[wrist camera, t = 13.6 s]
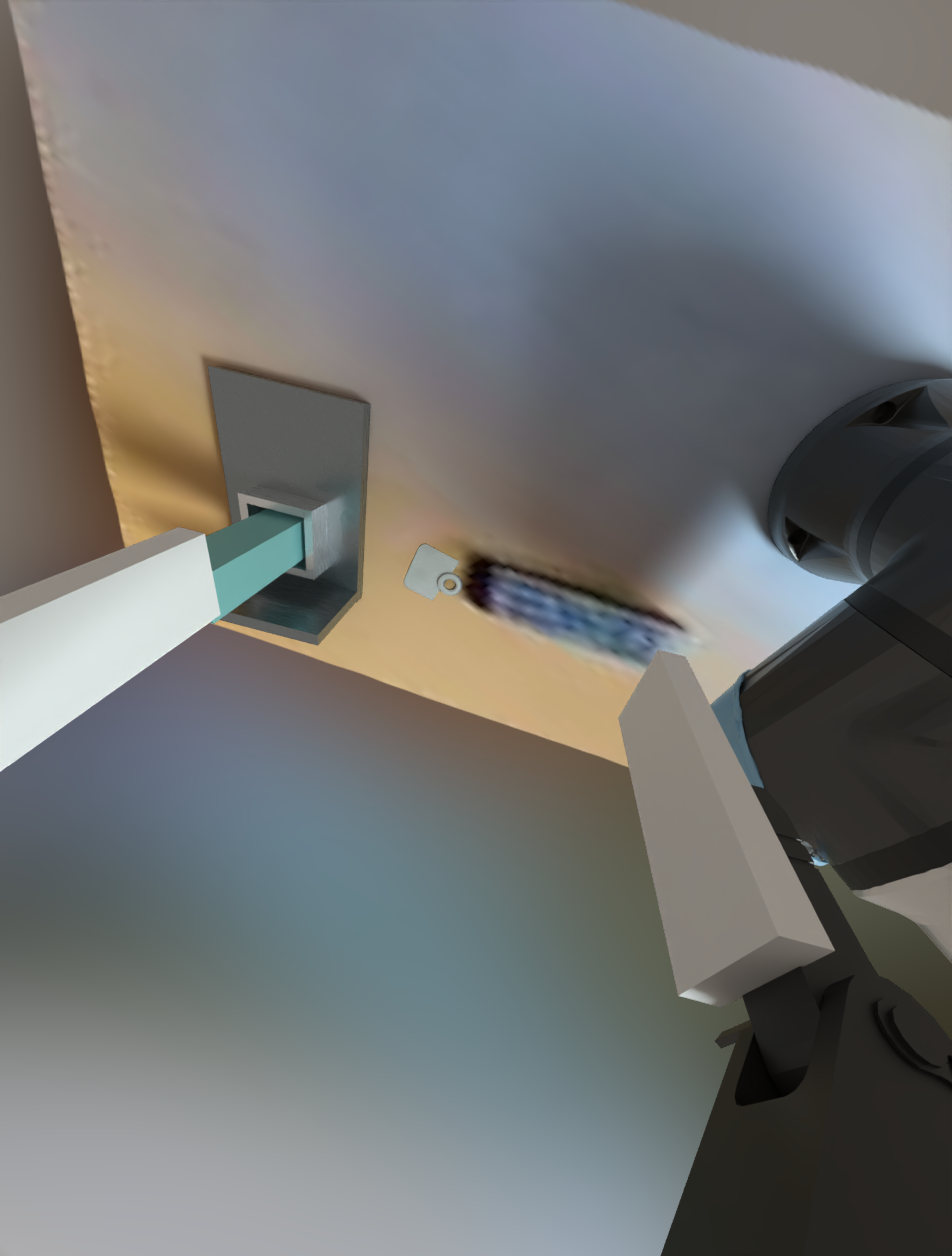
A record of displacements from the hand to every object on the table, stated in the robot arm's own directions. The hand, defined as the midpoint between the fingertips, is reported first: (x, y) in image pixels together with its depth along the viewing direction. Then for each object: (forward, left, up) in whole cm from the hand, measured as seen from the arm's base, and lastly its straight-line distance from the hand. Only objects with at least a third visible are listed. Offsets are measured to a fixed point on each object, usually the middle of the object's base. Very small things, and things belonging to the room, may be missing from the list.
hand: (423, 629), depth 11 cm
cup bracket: (+20, +8, -29) cm, 36 cm away
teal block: (+20, +11, -27) cm, 35 cm away
